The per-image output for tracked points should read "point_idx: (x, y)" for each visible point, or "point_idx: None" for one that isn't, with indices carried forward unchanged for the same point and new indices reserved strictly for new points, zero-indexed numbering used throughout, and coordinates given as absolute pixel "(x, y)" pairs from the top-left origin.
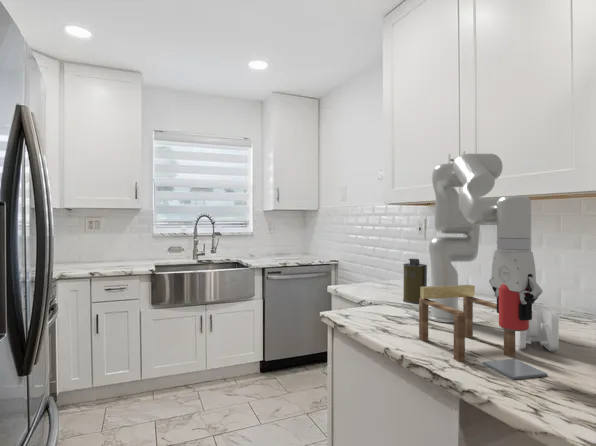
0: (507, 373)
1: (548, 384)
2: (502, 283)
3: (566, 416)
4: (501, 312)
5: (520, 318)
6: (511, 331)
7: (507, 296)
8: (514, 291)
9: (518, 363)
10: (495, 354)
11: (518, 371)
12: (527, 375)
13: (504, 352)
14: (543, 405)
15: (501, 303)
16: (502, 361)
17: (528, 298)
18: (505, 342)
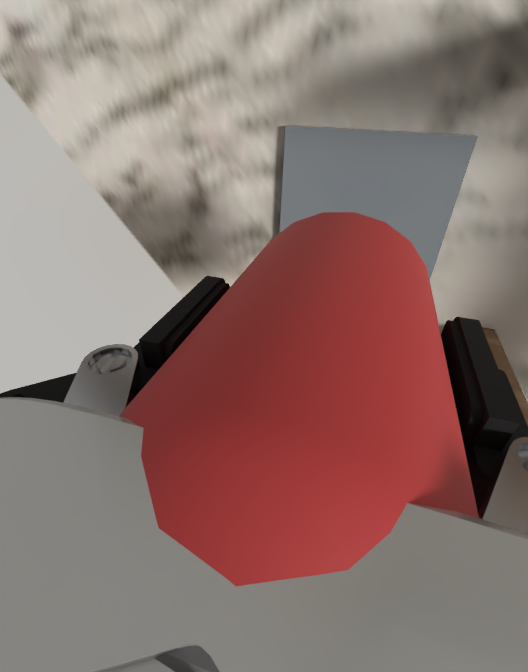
0: (319, 138)
1: (228, 223)
2: (285, 603)
3: (44, 59)
4: (351, 251)
5: (208, 279)
6: None
7: (215, 344)
8: (62, 404)
9: None
10: (517, 299)
11: (319, 204)
12: (281, 204)
13: (491, 333)
14: (101, 48)
15: (340, 291)
16: (424, 236)
17: (49, 396)
18: (496, 359)
